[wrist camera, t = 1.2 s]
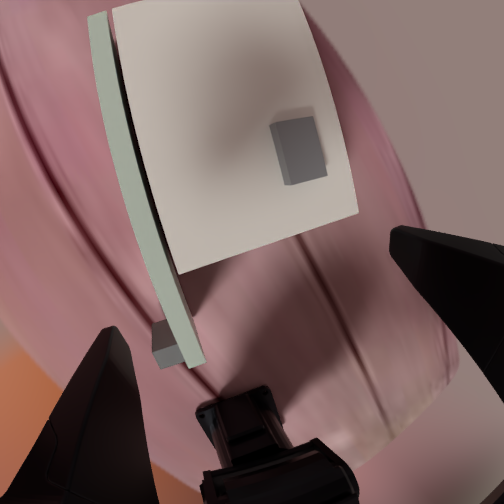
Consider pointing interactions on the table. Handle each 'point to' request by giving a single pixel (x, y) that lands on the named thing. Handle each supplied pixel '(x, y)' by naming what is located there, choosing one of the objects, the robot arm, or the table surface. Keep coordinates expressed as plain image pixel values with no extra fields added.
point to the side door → (142, 206)
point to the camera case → (232, 123)
